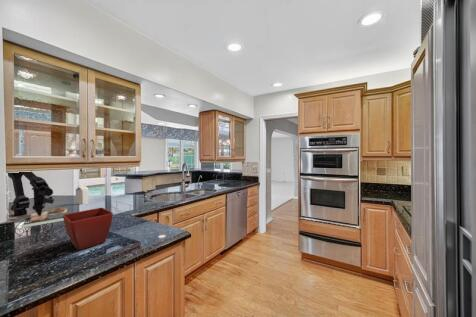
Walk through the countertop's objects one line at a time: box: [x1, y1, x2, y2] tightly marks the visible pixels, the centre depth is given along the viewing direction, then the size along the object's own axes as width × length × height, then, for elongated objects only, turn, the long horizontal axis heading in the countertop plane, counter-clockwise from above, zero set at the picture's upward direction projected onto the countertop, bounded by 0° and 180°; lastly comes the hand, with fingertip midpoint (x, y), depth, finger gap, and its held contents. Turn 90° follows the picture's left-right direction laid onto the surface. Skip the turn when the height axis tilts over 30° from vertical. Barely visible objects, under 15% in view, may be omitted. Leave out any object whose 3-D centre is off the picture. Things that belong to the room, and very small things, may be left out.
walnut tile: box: [50, 206, 65, 215], centre depth 168 cm, size 8×10×2 cm
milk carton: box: [75, 184, 90, 205], centre depth 195 cm, size 7×7×19 cm
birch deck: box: [28, 208, 68, 219], centre depth 165 cm, size 22×14×2 cm, turn 131°
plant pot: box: [62, 207, 114, 251], centre depth 114 cm, size 19×19×17 cm
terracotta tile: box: [29, 214, 48, 223], centre depth 152 cm, size 8×10×2 cm
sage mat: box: [21, 216, 64, 229], centre depth 154 cm, size 26×22×1 cm
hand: (40, 215), depth 155 cm, fingers closed
